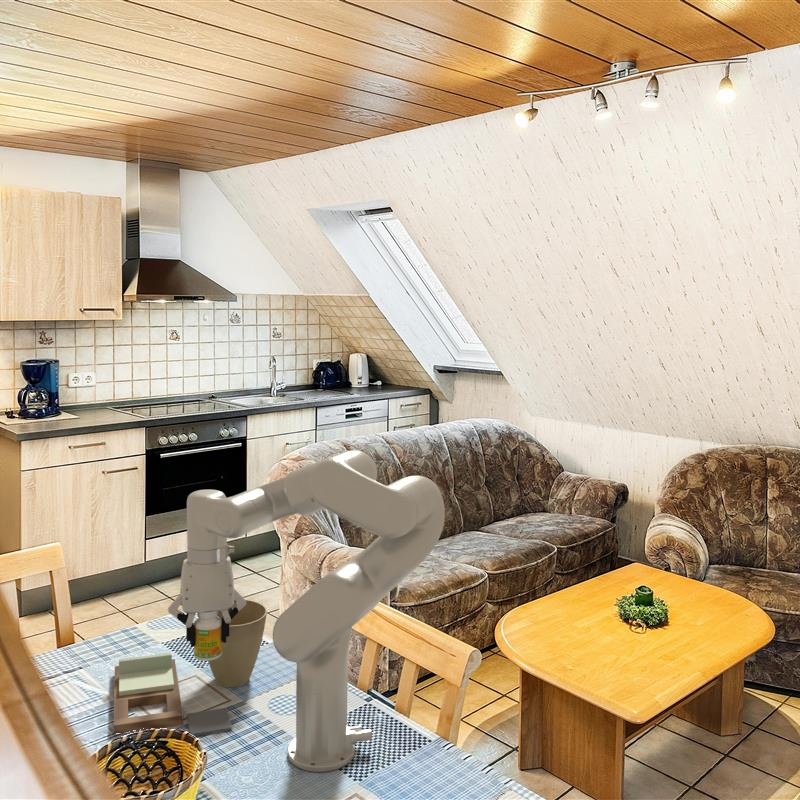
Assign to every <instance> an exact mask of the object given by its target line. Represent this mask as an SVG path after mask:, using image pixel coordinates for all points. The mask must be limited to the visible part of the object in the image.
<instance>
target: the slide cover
mask: <svg viewBox="0 0 800 800" xmlns="http://www.w3.org/2000/svg"><path fill="white" fill-rule="evenodd" d="M172 654H173V653H172V652H166V653H157V654H150V655H141V656H134V657H132V656H131V657H126V658H118V666H119V696H123V695H131V694H138V693H145V692H153V691H160V690H167V689H174V680H173V673H172V659H173V658H172V656H173V655H172Z"/></svg>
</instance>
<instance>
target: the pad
mask: <svg viewBox="0 0 800 800" xmlns="http://www.w3.org/2000/svg"><path fill="white" fill-rule="evenodd" d="M186 718H187V725H188V732H191V733H193V734H194V735H196V736H195V737H199V736H205V735H210V734H218V733H224V732H230V731H231V732H232V731H233V728H232V727H233V726H232V723H231V719H230V715H229V710H228V708H227V707H223V708H216V709H208V710H203V711H202V710H201V711H196V712H189V713H186Z"/></svg>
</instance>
